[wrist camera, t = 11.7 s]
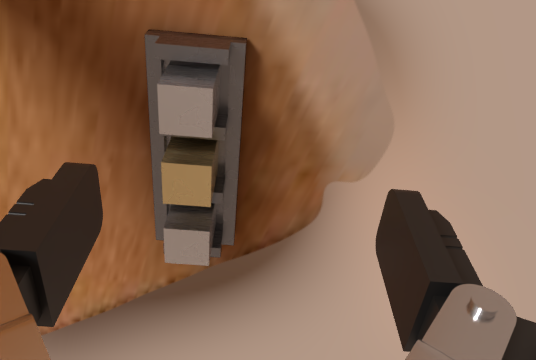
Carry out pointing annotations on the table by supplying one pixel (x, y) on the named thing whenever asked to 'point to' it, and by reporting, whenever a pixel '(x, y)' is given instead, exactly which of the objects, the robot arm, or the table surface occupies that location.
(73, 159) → the table surface
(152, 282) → the table surface
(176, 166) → the tan rectangular block
